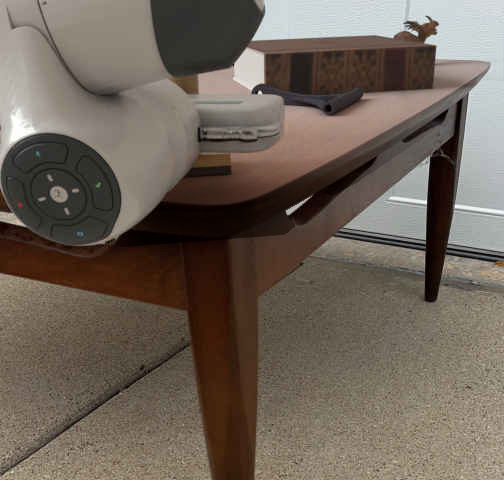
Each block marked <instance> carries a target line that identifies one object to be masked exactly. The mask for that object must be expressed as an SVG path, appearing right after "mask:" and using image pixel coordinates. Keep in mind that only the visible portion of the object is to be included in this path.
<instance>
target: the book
mask: <svg viewBox="0 0 504 480" xmlns="http://www.w3.org/2000/svg"><path fill="white" fill-rule="evenodd" d="M437 47H438V46H437V45H436V44H430V43H425V42H424V43H419V42H413V41H407V40H401V39H395V38H394V37H388V36H383V35H377V34H369V35H347V36H346V35H345V36H325V37H304V38H280V39H258V40H251V42H250V43H249V45H248V46H247V48H246V49H245V51H244V52H243V53H242V55H241V56H240V57H239V58H238V60H237V61H236V62H235V63H234V65H233V74H234V76H233V77H232V79H233V80H232V81H234V80H235V81H234V82H236V81H237V82H236V83H238V84H239V83H240V84H239V85H240V86H243V87H245V88H246V89H248V90H250V91H252V89H253V88H254V87H255V86H256V85H258V84H261V83H263V84H266V85H268V86H270V87H273V88H277V89H280V90H283V91H286V92H292V93H297V94H304V95H331V94H345V93H347V92H350V91H352V90H354V89H356V88H361V89H362V90H363V94H364V93H365V94H366V93H380V92H395V91H396V92H397V91H412V90H413V91H414V90H427V89H433V88H434V81H435V80H434V79H435V68H436V56H437ZM258 94H262V92H261V91H260V90H259V92H258Z"/></svg>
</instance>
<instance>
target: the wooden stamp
mask: <svg viewBox="0 0 504 480" xmlns="http://www.w3.org/2000/svg"><path fill="white" fill-rule="evenodd" d="M167 79H168V80H170V81H172V82H173V83H175V84H176V85H178V86H179V87H180V88H181V89H182V90H183V91H184V92H185V93H186V94H200V88H199V74H197V75H191V76H186V77H180V78H175V77H170V78H167ZM219 175H232V153H202V152H200V153H199V156H198V158H197V160H196V162H195V164H194V165H193V167H192V168H191V169H190V170H189V171H188V172H187V174H186V175H185V176H184V177H183V178H187V177H201V176H203V177H205V176H219Z"/></svg>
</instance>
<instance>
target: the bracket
mask: <svg viewBox="0 0 504 480" xmlns="http://www.w3.org/2000/svg"><path fill="white" fill-rule="evenodd" d="M259 90H260V91H261V92H262V94H272V95H278V96H280V97H282V98H283V99H284V106H285V105H287V106H307V107H318V108H319V109H320V110H321V111H322V113H323V114H325V115H326V116H330V115H332V114H334V113H336V112H339V111H340V110H342V109H344V108H346V107H348V106H349V105H351V104H353V103H355V102H356V101H357V102H358V100H361V99H362V98H363V97H364V93H363V90H362V89H361V88H356V89H354V90H352V91H350V92H347V93H345V94H331V95H304V94H297V93H292V92H286V91H283V90H280V89H277V88H273V87H270V86H268V85H266V84H263V83H261V84H258V85H256V86H255V87H254V88H253V89H252V90H251V93H250V94H258V92H259Z"/></svg>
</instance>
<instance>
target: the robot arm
mask: <svg viewBox="0 0 504 480" xmlns="http://www.w3.org/2000/svg"><path fill="white" fill-rule="evenodd" d="M265 5H266V4H265V0H0V190H1V193H2V196H3V198H4V200H5V202H6V205H7V206H8V208H9V210H10V211H11V213H12V214H13V215H14V217H16V218H17V220H18V221H20V222H21V224H23V225H24V226H25V227H26V228H28V229H29V230H30V231H32V232H33V233H35V234H36V235H39V236H40V237H43V238H45V239H47V240H49V241H51V242H55V243H58V244H62V245H65V246H73V247H75V246H76V247H85V246H95V245H100V244H104V243H106V242H109V241H111V240H113V239H116V238H118V237H119V236H121V235H123V234H124V233H126V232H128V231H129V230H130V229H132V228H134V227H135V226H136V225H137V224H139V223H140V222H141V221H142V220H144V219H145V218H146V217H148V215H149V214H150V213H152V211H153V210H154V209H156V207H157V206H159V204H160V203H161V201H162V200H163V199H164V197H165V196H166V195H167V194H168V193H169V192H170V191H172V190H173V189H174V188H175V187H176V185H178V184H179V182H180V181H181V180H182V179H183V178H185V177H184V176H185V175H186V174H187V172H188V171H189V170H190V169H191V168H192V167H193V165H194V164H195V162H196V160H197V158H198V156H199V153H200V152H202V153H231V154H251V153H252V154H254V153H260V152H264V151H266V150H268V149H270V148H272V147H274V146H275V145H276V144H277V143H278V142H280V141H281V139H283V137H284V135H285V119H286V118H285V117H286V116H285V105H284V99H283V98H282V97H280V96H278V95H272V94H251V93H247V94H246V93H244V94H243V93H241V94H240V93H230V94H229V93H227V94H226V93H199V94H186V93H185V92H184V91H183V90H182V89H181V88H180V87H179V86H178V85H176V84H175V83H173V82H172V81H170V80H168V79H167V78H170V77H175V78H180V77H186V76H191V75H197V74H198V75H201V74H206V73H211V72H212V73H213V72H217V71H223V70H229V69H231V68H232V67H234V65H233V64H234V63H235V62H236V61H237V60H238V58H239V57H240V56H241V55H242V53H243V52H244V51H245V49H246V48H247V46H248V45H249V43H250V42H251V41H253V39H254V37H255V35H256V33H257V31H258V30H259V28H260V26H261V24H262V22H263V20H264V17H265V15H266V6H265Z"/></svg>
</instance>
